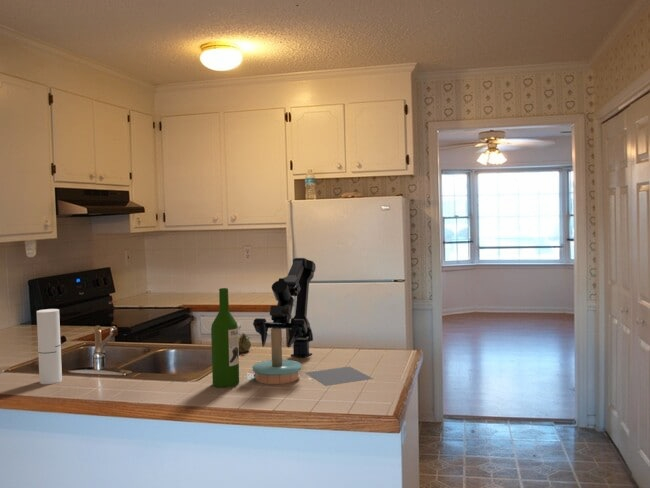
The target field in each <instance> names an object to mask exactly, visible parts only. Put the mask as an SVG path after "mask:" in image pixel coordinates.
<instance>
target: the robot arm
mask: <svg viewBox="0 0 650 488" xmlns="http://www.w3.org/2000/svg"><path fill="white" fill-rule="evenodd" d="M315 272H316V263H315V262H314V261H313V260H310V259H307V258H305V257H294V258H293V259H292V265H291V267H290V269H289V271H288V273H287V275H286V276H285V277H283V278H281V277H279V278H278V280H276V281H274V282H273V284H272V285H271V290H272V293H273V296H274V298H275V301H277V304H276V305H269V306H270V307H269V316H271V317H270V319H271V321H272V322H271V321H270V322H269V321H268V322H267V320H266V318H263V317H262V318H261V317H259V318H258V317H256V318H254V320H253V322H252V325H253V327H254V329H255V332H256V333H258V334H259V335H260V340H261V346H262V347H263V348H265V346H266V343H267V337H268V331H269V329H272V328H281V330H284V329H285V330H287V329H288V337H289V339H288V342H287V348H291V346H292V345H293V348H292V350H293V351H292V352H293V353H291V354H290V356H291V357H296V358H302V359H304V358H306V357H309V356H311V355H313V352H310V342H313V341H314V334H313V331H312V328H311V325H310V324H311V323H310V321H309V320H308V319H309V318H308V317H307V315H308V314H307V313H308V304H309V303H308V301H309V289H310V282H311V281H312V279H314V275H315ZM294 297H296V302H295V299H294ZM294 302H295V303H296V305H294ZM294 306H295V314H294V316H292V312H293V307H294Z"/></svg>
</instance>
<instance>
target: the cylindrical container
mask: <svg viewBox="0 0 650 488" xmlns="http://www.w3.org/2000/svg"><path fill="white" fill-rule="evenodd" d="M60 318H61V317H60V308H59V309H58V308H47V309H39V310H36V327H37V328H36V330H37V349H38V351H37V352H38V374H39V376H38V377H39V384H41V385H51V384H52V385H53V384H58V383H60V382H62V380H63V372H62V370H63V369H62V348H61V347H62V346H61V325H60V324H61V323H60Z"/></svg>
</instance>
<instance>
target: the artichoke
mask: <svg viewBox="0 0 650 488" xmlns="http://www.w3.org/2000/svg"><path fill="white" fill-rule="evenodd" d="M250 338H251V337H250V336H249V335H248V334H247V333H243V332H242V333H241V335H238V346H239V353H245V352H248V351H249V350H251V347H252V343H251V341H250V340H251V339H250Z"/></svg>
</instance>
